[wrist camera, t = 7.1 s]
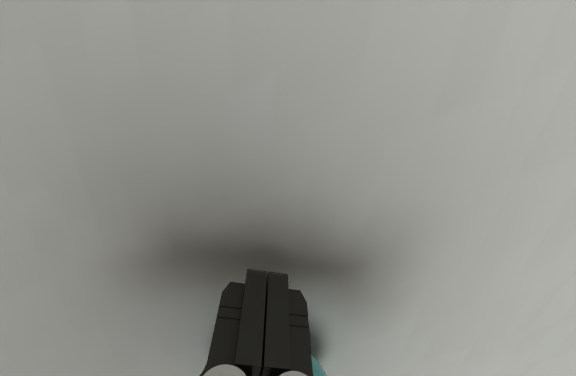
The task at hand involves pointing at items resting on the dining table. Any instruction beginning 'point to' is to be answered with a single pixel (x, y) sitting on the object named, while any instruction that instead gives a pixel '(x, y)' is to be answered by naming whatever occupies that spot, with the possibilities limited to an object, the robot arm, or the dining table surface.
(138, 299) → the dining table surface
